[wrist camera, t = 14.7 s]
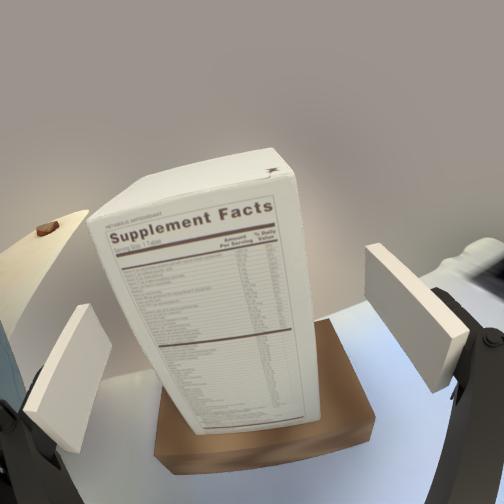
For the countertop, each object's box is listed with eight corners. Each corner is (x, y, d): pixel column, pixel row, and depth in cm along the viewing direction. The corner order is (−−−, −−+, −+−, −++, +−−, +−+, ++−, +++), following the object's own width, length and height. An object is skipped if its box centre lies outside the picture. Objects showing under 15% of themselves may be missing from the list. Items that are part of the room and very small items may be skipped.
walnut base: (174, 474, 19) (153, 455, 17) (181, 375, 30) (168, 349, 28) (369, 440, 19) (375, 417, 17) (329, 347, 30) (329, 318, 28)
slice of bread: (42, 229, 119) (39, 222, 117) (69, 219, 119) (66, 212, 117) (23, 243, 103) (20, 236, 101) (51, 234, 103) (48, 226, 101)
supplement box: (304, 338, 26) (278, 144, 19) (324, 422, 18) (307, 168, 11) (201, 353, 27) (142, 173, 20) (191, 437, 18) (78, 217, 11)
